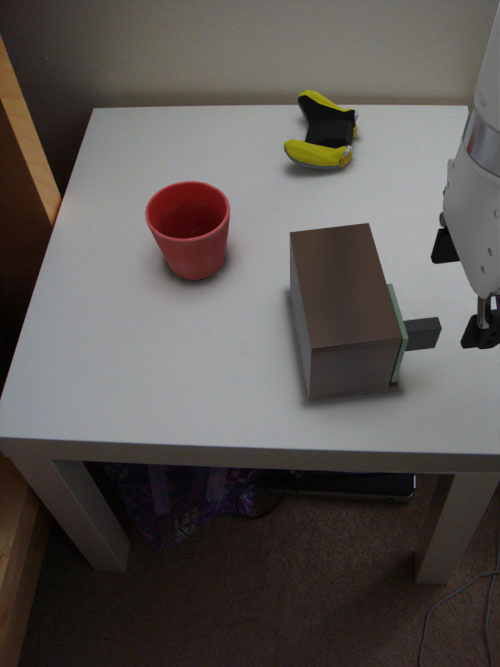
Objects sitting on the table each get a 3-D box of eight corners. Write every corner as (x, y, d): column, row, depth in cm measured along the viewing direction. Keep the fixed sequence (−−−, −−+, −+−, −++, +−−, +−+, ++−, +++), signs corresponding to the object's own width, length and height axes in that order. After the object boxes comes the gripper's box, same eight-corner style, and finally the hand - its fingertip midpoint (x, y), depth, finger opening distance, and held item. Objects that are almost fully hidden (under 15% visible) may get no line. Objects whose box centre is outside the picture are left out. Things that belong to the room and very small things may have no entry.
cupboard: (369, 284, 79) (380, 221, 69) (397, 390, 71) (415, 335, 61) (290, 293, 79) (289, 231, 69) (308, 401, 71) (311, 348, 61)
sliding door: (413, 325, 74) (428, 278, 66) (429, 378, 70) (447, 334, 62) (376, 330, 74) (386, 283, 66) (390, 382, 70) (403, 339, 62)
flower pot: (201, 218, 88) (191, 167, 80) (251, 259, 83) (246, 209, 75) (143, 258, 84) (127, 208, 76) (192, 302, 80) (181, 255, 72)
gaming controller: (281, 176, 92) (346, 183, 90) (281, 147, 87) (349, 154, 85) (299, 114, 100) (359, 119, 98) (299, 84, 95) (363, 90, 93)
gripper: (659, 227, 31) (545, 384, 46) (538, 41, 41) (475, 220, 56) (518, 245, 31) (448, 396, 46) (430, 54, 41) (395, 230, 56)
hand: (463, 299), depth 51 cm, fingers open, 8 cm apart
